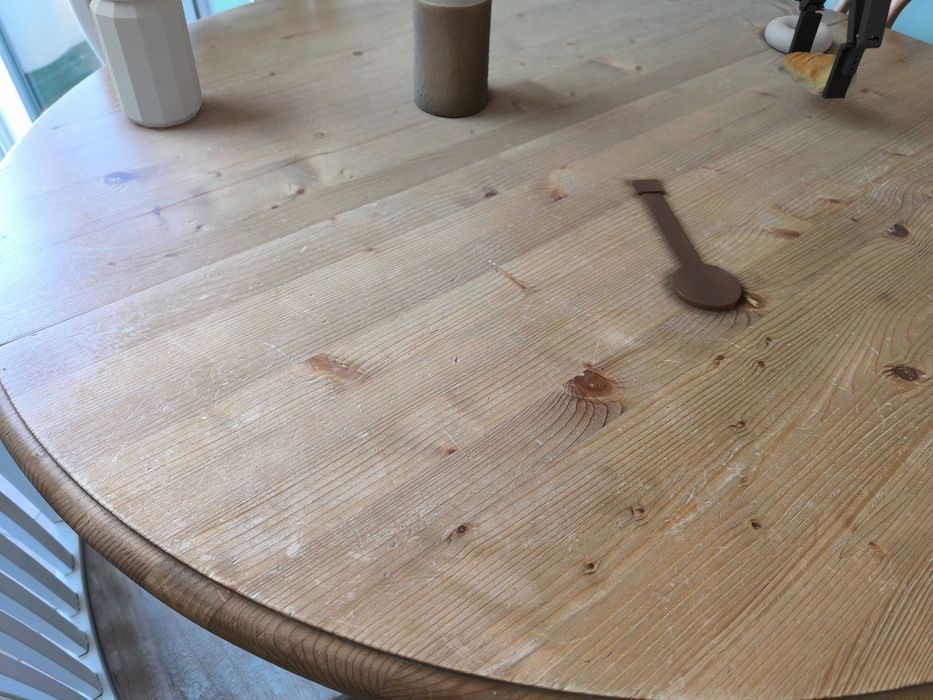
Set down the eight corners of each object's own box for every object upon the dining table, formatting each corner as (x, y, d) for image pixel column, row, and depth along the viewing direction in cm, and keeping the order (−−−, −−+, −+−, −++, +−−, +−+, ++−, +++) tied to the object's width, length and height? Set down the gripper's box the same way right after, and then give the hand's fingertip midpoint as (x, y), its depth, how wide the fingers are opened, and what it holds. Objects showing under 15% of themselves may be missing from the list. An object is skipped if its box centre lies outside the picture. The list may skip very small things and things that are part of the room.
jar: (123, 135, 89) (73, -26, 76) (122, 99, 95) (76, -56, 83) (208, 125, 91) (174, -33, 79) (201, 90, 98) (169, -61, 85)
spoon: (669, 189, 85) (672, 176, 84) (747, 316, 70) (752, 303, 68) (614, 191, 84) (617, 179, 83) (682, 321, 69) (686, 308, 68)
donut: (773, 29, 121) (752, 47, 115) (780, 7, 119) (759, 24, 113) (835, 45, 118) (817, 65, 111) (844, 23, 115) (826, 41, 109)
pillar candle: (499, 110, 97) (508, -12, 87) (431, 123, 94) (431, -2, 83) (466, 79, 103) (471, -38, 93) (401, 91, 100) (398, -29, 90)
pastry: (767, 71, 100) (776, 43, 98) (803, 63, 103) (812, 35, 100) (822, 100, 94) (833, 70, 92) (858, 90, 97) (870, 61, 94)
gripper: (804, -139, 90) (751, 47, 106) (908, -91, 74) (828, 120, 90) (862, -139, 91) (801, 45, 107) (977, -92, 75) (886, 117, 91)
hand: (813, 79), depth 98 cm, fingers closed on pastry, 10 cm apart
